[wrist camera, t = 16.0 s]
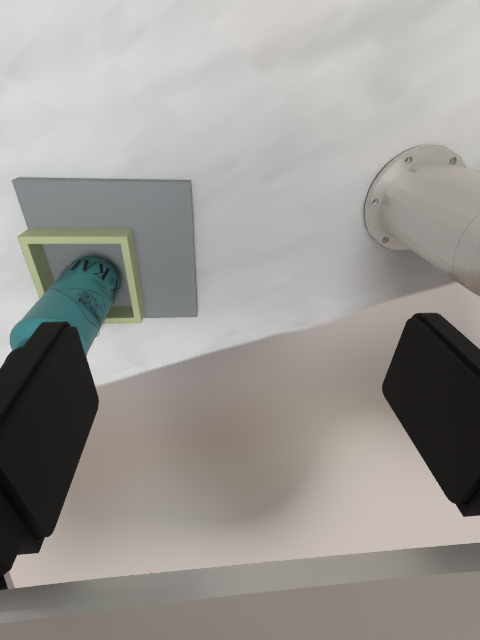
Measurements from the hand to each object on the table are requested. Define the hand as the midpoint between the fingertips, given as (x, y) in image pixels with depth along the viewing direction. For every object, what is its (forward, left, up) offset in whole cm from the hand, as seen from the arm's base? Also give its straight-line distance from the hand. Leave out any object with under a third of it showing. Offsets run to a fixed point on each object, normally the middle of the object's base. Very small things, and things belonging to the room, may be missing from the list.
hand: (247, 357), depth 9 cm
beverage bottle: (+15, +12, -32) cm, 37 cm away
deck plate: (+12, +10, -33) cm, 37 cm away
